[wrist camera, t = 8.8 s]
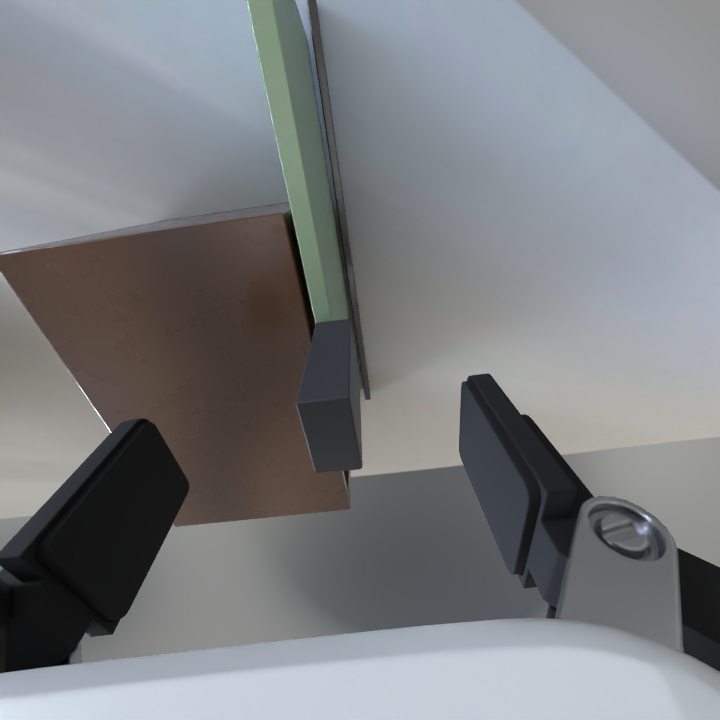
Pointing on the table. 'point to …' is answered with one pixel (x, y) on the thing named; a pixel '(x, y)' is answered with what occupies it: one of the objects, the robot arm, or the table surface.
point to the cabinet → (199, 342)
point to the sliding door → (312, 239)
